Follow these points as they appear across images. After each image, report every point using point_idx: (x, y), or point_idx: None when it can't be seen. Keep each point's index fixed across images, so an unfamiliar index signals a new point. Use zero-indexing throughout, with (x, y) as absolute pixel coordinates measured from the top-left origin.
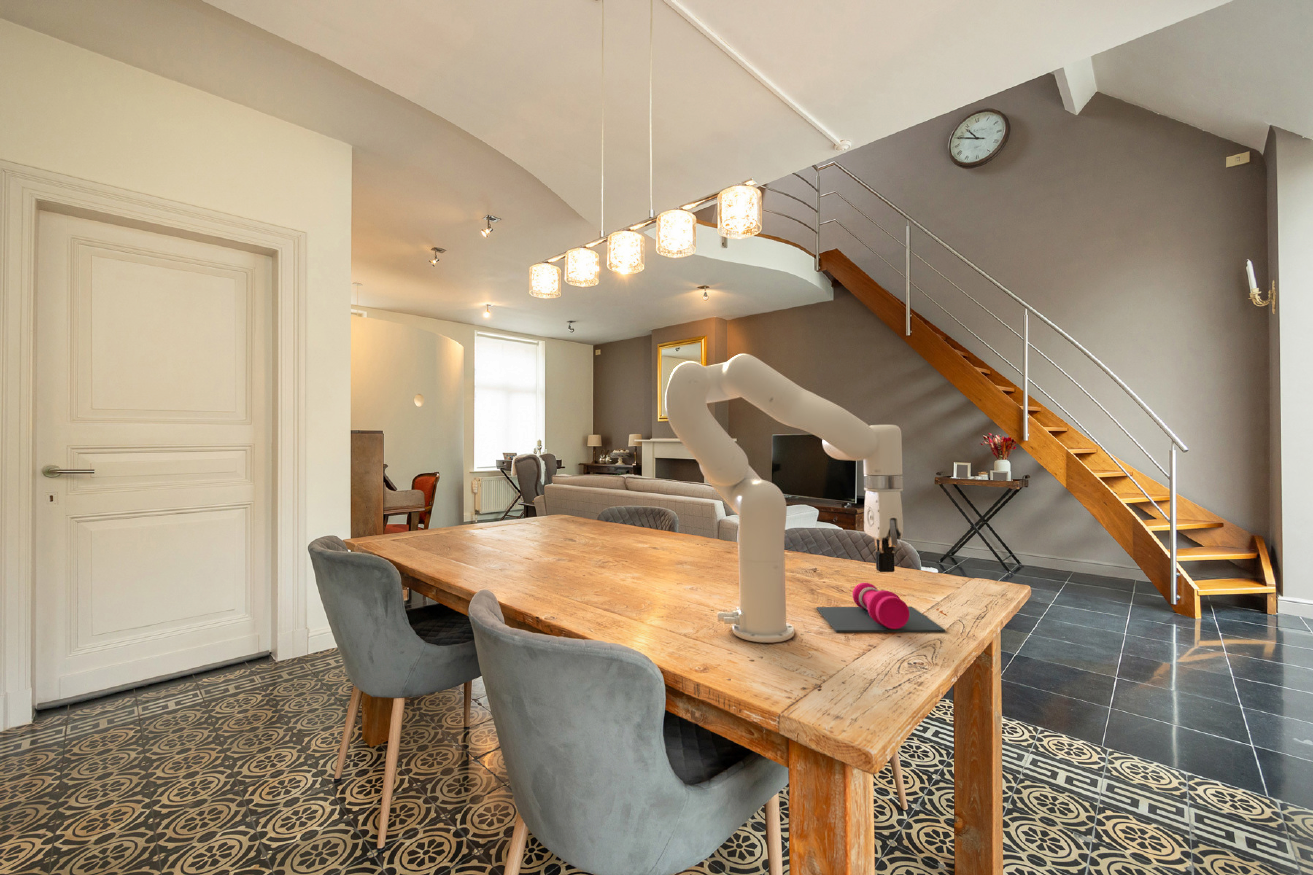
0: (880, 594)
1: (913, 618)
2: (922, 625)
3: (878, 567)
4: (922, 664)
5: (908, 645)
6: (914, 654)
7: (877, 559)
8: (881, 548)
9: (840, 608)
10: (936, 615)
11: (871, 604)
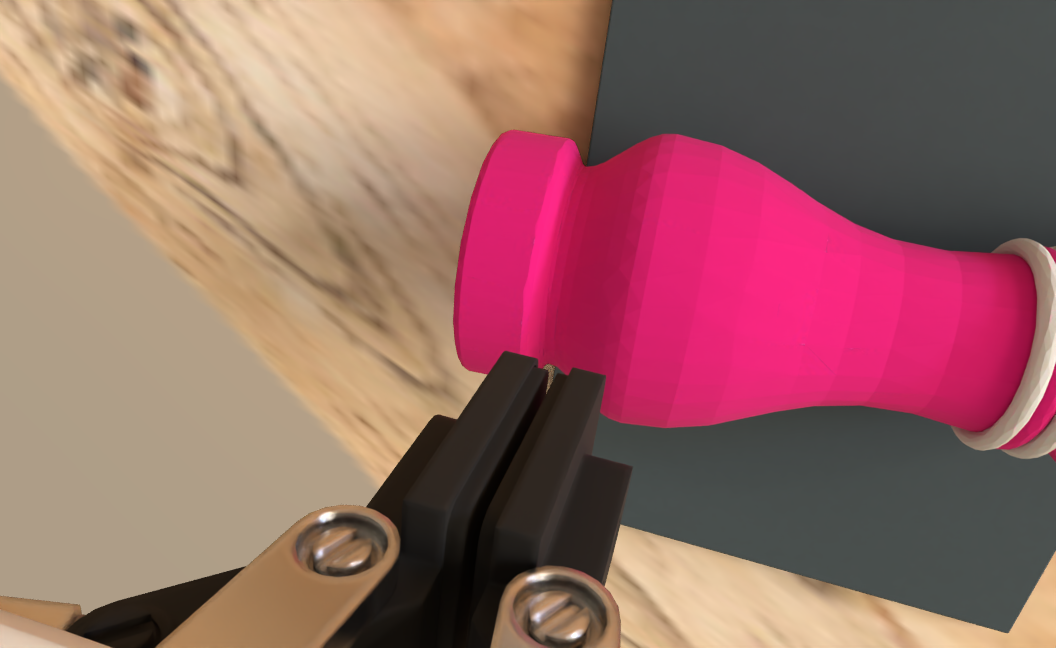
0: (609, 269)
1: (760, 482)
2: (622, 443)
3: (506, 372)
4: (124, 92)
5: (365, 181)
6: (243, 133)
7: (529, 451)
8: (261, 558)
9: None
10: (816, 645)
11: (638, 157)
